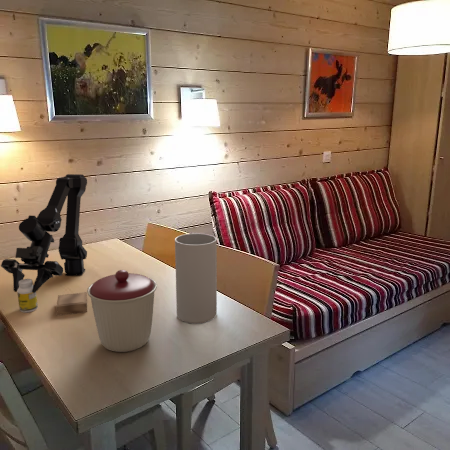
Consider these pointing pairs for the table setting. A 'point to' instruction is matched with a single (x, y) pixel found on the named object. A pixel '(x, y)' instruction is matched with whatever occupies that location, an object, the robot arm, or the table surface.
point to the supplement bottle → (26, 296)
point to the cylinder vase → (196, 277)
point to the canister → (123, 310)
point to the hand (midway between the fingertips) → (24, 291)
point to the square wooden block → (71, 303)
